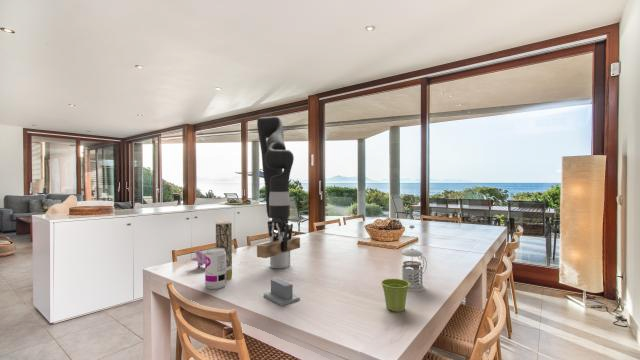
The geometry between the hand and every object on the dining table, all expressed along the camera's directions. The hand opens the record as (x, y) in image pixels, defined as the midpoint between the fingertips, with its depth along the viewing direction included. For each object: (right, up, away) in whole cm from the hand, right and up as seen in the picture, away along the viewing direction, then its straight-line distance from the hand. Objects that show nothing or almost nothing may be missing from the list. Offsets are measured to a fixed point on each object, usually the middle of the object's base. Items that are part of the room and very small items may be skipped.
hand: (279, 250), depth 117 cm
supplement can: (-28, -18, +14) cm, 36 cm away
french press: (+53, -17, +11) cm, 57 cm away
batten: (0, -1, 0) cm, 1 cm away
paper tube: (-28, -18, +25) cm, 41 cm away
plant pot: (+40, -18, -10) cm, 45 cm away
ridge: (+1, -18, 0) cm, 18 cm away
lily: (-43, -18, +40) cm, 61 cm away
